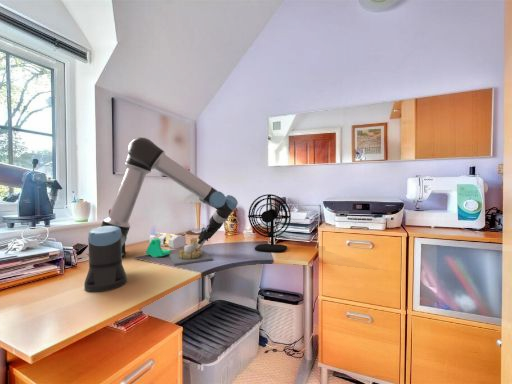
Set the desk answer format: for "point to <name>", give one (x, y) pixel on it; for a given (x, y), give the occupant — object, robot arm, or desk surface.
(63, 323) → the desk surface
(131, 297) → the desk surface
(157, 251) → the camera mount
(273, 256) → the desk surface
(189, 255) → the olive castle ruin model
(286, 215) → the desk fan
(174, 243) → the diorama
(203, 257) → the cap base
